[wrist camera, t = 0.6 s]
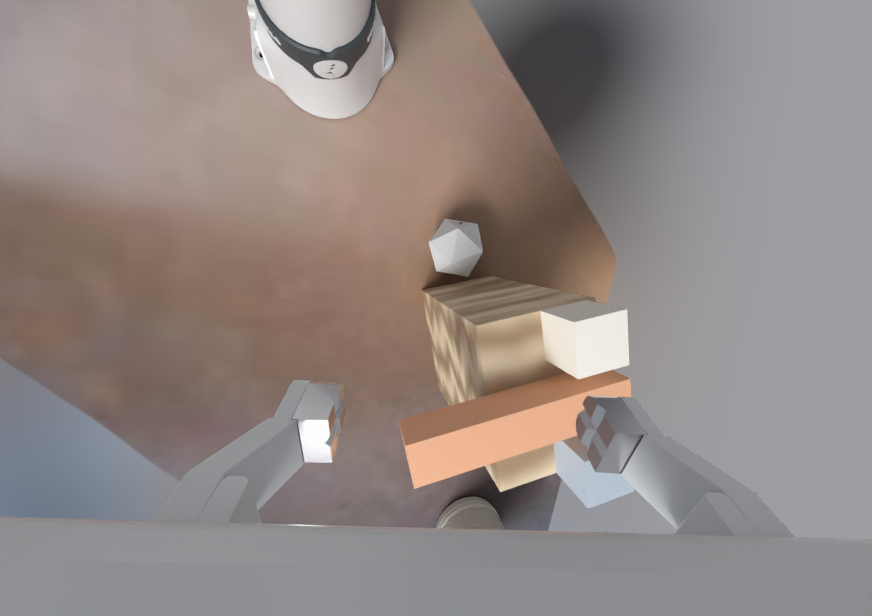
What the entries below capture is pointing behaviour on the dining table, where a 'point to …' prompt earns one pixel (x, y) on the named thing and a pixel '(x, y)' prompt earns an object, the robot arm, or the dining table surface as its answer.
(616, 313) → the cube cream
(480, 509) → the jar
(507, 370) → the oak stand
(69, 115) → the dining table surface
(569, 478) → the cube slate
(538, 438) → the bar terracotta
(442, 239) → the die
